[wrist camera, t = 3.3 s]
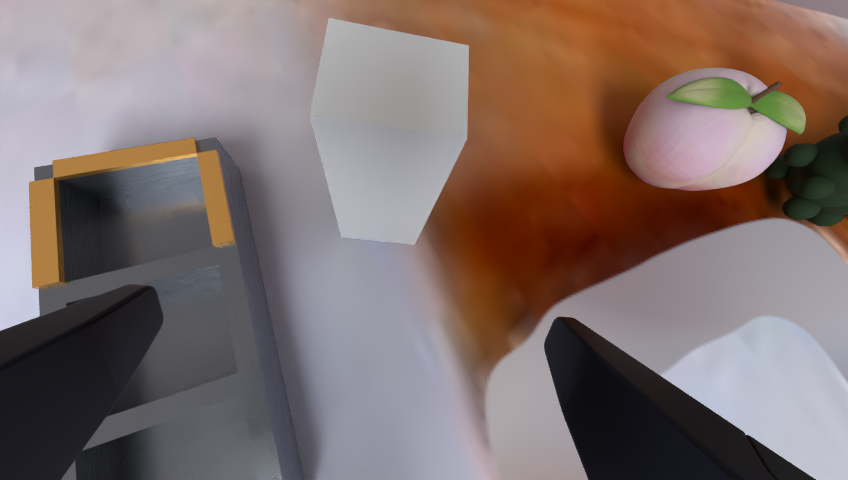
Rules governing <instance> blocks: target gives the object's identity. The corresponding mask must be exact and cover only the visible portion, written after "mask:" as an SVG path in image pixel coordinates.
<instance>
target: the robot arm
mask: <svg viewBox="0 0 848 480" xmlns="http://www.w3.org/2000/svg"><path fill="white" fill-rule="evenodd" d="M163 320H164V316H163V311H162V308H161V304H160V300H159V296H158V293H157V290H156V289H155V287H153V286H151V285H142V284H128V285H124V286H122V287H119V288H116V289H114V290H111V291H108V292H105V293H103V294H100V295H97V296H94V297H92V298H89V299H86V300H83V301H81V302H78V303H75V304H73V305H70V306H67V307H64V308H62V309H59V310H56V311H53V312H51V313H48V314H45V315H43V316H40V317H37V318H34V319H32V320H29V321H26V322H23V323H21V324H18V325H15V326H12V327H10V328H7V329H4V330H2V331H0V480H61V479H62V478H63V476H64V475H65V473H66V472H67V471H68V469H69V468H70V467H71V465H72V464H73V462H74V461H75V460H76V458H77V457H78V455H79V454H80V453H81V451H82V450H83V448H84V447H85V446H86V444H87V443H88V442H89V440H90V439H91V437H92V436H93V435H94V433H95V432H96V430H97V429H98V428H99V426H100V425H101V424H102V422H103V421H104V419H105V418H106V417H107V415H108V414H109V412H110V411H111V410H112V408H113V407H114V405H115V404H116V402H117V401H118V399H119V398H120V397H121V395H122V393H123V392H124V390H125V389H126V387H127V385H128V384H129V382H130V380H131V379H132V377H133V375H134V373H135V372H136V370H137V368H138V367H139V365H140V363H141V361H142V360H143V358H144V356H145V355H146V353H147V351H148V349H149V348H150V346H151V344H152V343H153V341H154V339H155V338H156V336H157V334H158V332H159V331H160V329H161V327H162V324H163ZM544 349H545V354H546V357H547V361H548V364H549V368H550V372H551V375H552V379H553V382H554V385H555V389H556V393H557V396H558V399H559V403H560V406H561V409H562V412H563V415H564V418H565V421H566V423H567V426H568V428H569V431H570V433H571V436H572V439H573V441H574V444H575V446H576V449H577V452H578V454H579V457H580V459H581V462H582V464H583V467H584V470H585V472H586V475H587V477H588V480H816V479H814V478H813V477H811V476H809V475H808V474H806V473H805V472H803V471H802V470H800V469H799V468H797V467H796V466H794V465H793V464H791V463H790V462H788V461H787V460H785V459H784V458H782V457H781V456H779V455H778V454H776V453H774V452H773V451H771V450H770V449H769V448H767V447H766V446H764V445H763V444H761V443H760V442H758V441H757V440H755V439H754V438H752V437H751V436H749V435H745V433H744V432H743V431H742V430H740V429H739V428H737V427H736V426H734V425H733V424H731V423H730V422H728V421H727V420H725V419H724V418H722V417H721V416H719V415H718V414H716V413H715V412H713V411H712V410H710V409H709V408H707V407H706V406H704V405H703V404H701V403H700V402H698V401H697V400H695V399H694V398H692V397H691V396H689V395H688V394H686V393H685V392H683V391H682V390H680V389H679V388H678V387H676V386H675V385H673V384H672V383H670V382H669V381H667V380H666V379H664V378H663V377H661V376H660V375H658V374H657V373H655V372H654V371H652V370H651V369H649V368H648V367H646V366H645V365H643V364H642V363H640V362H639V361H637V360H636V359H634V358H633V357H631V356H630V355H628V354H627V353H625V352H624V351H622V350H621V349H619V348H618V347H616V346H615V345H613V344H612V343H610V342H609V341H607V340H606V339H605V338H603V337H602V336H600V335H598V334H597V333H596V332H594V331H593V330H591V329H590V328H588V327H587V326H585V325H584V324H582V323H580V322H579V321H578V320H576V319H574V318H570V317H557V318H556V319H555V320H554V321H553V323H552V326H551V328H550V330H549V332H548V335H547V337H546V340H545V343H544Z"/></svg>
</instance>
